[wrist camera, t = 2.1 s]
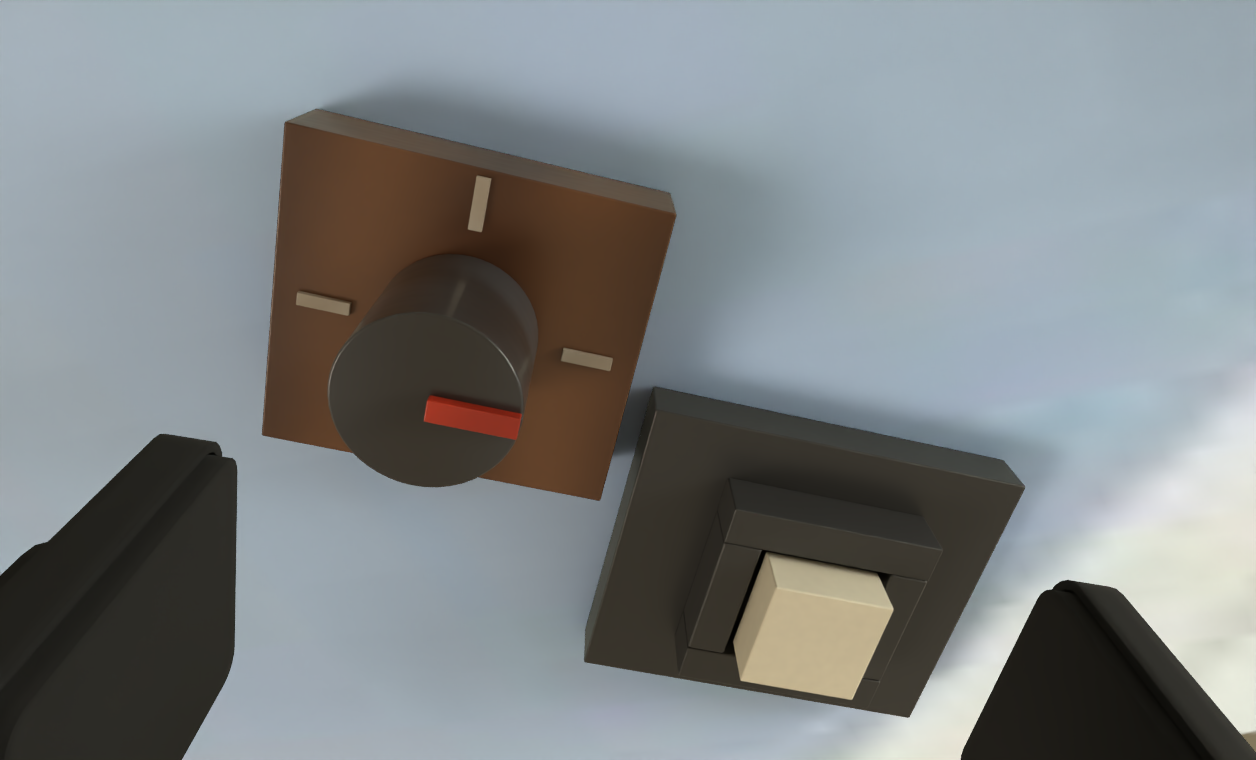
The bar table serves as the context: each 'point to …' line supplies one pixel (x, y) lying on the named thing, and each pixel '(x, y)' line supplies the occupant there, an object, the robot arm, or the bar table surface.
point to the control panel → (473, 226)
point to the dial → (437, 373)
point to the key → (811, 626)
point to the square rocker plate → (789, 539)
